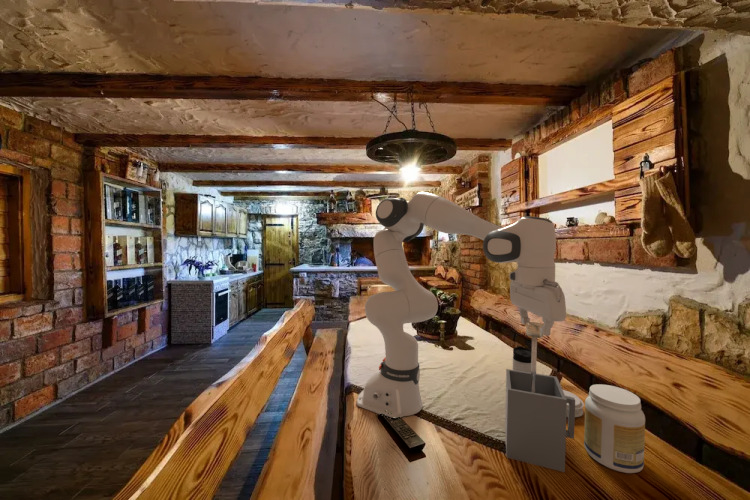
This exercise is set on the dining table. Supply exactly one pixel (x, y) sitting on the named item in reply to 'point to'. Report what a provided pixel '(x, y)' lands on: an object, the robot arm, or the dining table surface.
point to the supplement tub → (614, 428)
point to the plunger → (533, 349)
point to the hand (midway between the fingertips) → (534, 329)
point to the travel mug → (522, 359)
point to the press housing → (537, 420)
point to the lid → (578, 404)
